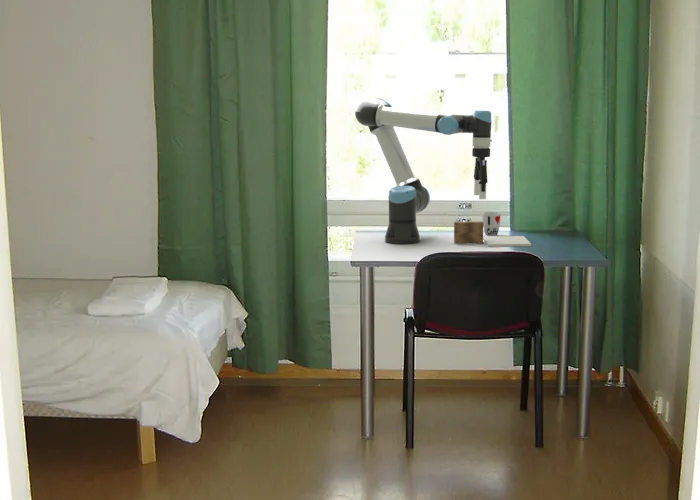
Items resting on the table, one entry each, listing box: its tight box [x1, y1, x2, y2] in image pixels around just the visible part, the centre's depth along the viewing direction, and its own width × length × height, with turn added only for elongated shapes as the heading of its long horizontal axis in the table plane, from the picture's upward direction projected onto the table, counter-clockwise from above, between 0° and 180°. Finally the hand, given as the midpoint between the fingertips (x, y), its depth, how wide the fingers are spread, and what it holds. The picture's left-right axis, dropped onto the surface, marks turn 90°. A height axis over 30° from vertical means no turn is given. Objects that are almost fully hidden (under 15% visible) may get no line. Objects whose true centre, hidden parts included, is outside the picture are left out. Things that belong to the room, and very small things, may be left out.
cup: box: [481, 211, 502, 236], centre depth 382 cm, size 8×8×10 cm
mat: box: [483, 235, 533, 248], centre depth 365 cm, size 18×20×1 cm
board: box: [453, 220, 484, 245], centre depth 364 cm, size 12×3×9 cm, turn 88°
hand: (479, 197), depth 367 cm, fingers open, 13 cm apart
